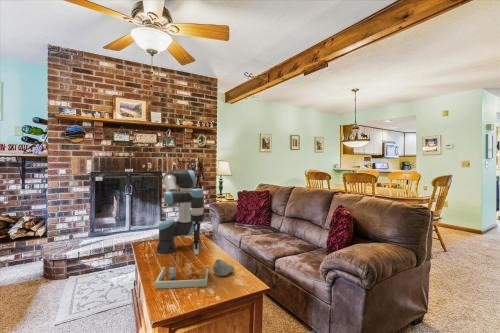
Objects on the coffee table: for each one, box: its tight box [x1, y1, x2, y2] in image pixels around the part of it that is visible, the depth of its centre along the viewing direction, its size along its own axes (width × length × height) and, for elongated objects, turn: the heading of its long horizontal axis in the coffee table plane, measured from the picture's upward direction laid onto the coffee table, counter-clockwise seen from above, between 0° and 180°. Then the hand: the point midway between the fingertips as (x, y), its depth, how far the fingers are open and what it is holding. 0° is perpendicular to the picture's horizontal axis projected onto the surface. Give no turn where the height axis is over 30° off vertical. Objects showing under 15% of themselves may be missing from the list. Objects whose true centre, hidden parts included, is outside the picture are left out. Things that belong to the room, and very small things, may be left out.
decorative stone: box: [212, 258, 235, 277], centre depth 157 cm, size 13×11×10 cm
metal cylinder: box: [168, 265, 177, 281], centre depth 149 cm, size 4×4×7 cm
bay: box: [154, 264, 210, 290], centre depth 148 cm, size 18×29×4 cm, turn 97°
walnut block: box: [192, 240, 202, 255], centre depth 151 cm, size 4×4×7 cm
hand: (196, 252), depth 151 cm, fingers closed on walnut block, 4 cm apart
